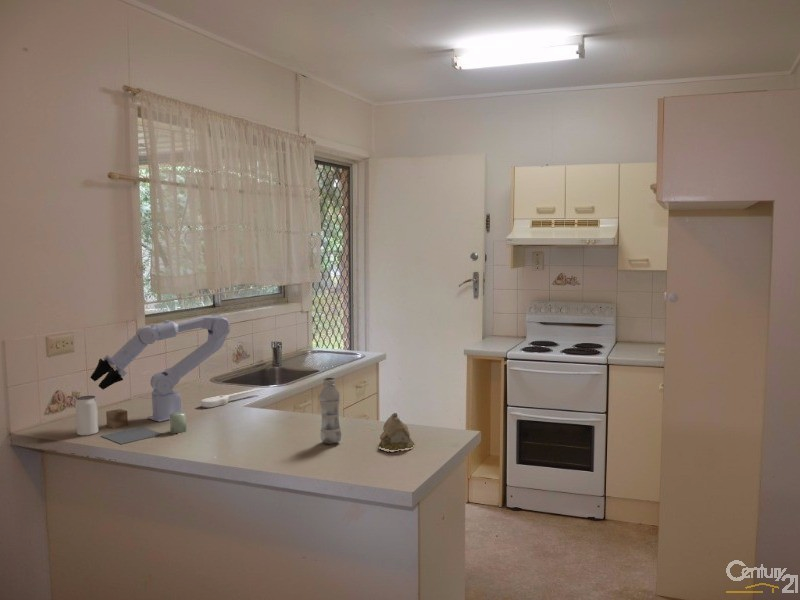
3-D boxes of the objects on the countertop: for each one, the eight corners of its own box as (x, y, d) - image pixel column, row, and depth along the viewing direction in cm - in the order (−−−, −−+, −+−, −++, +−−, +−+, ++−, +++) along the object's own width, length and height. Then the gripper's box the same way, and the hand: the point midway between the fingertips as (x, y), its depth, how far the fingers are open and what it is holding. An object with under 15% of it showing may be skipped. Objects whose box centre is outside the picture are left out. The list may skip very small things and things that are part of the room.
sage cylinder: (181, 428, 230) (180, 411, 230) (189, 431, 227) (188, 413, 226) (167, 432, 226) (166, 414, 226) (175, 434, 223) (174, 416, 223)
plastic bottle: (325, 447, 207) (323, 382, 205) (317, 441, 213) (315, 378, 211) (344, 444, 210) (343, 379, 208) (336, 438, 216) (335, 376, 214)
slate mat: (141, 427, 233) (141, 426, 233) (162, 434, 224) (162, 433, 224) (100, 436, 222) (100, 435, 222) (121, 444, 213) (121, 443, 213)
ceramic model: (418, 451, 202) (417, 418, 201) (380, 454, 200) (379, 420, 199) (409, 438, 216) (409, 406, 215) (374, 440, 214) (373, 408, 213)
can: (90, 436, 222) (88, 400, 221) (72, 435, 224) (70, 399, 223) (102, 431, 229) (100, 395, 228) (85, 430, 230) (83, 395, 229)
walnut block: (120, 422, 239) (120, 408, 239) (127, 425, 236) (127, 411, 236) (106, 425, 236) (106, 411, 235) (113, 428, 232) (113, 413, 232)
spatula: (256, 394, 281) (256, 387, 281) (265, 395, 277) (265, 389, 277) (197, 407, 260) (197, 399, 260) (206, 409, 256) (205, 402, 256)
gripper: (111, 340, 239) (80, 369, 235) (127, 354, 229) (96, 384, 225) (124, 352, 244) (94, 380, 239) (141, 366, 234) (110, 396, 229)
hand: (96, 383), depth 232 cm, fingers open, 7 cm apart
